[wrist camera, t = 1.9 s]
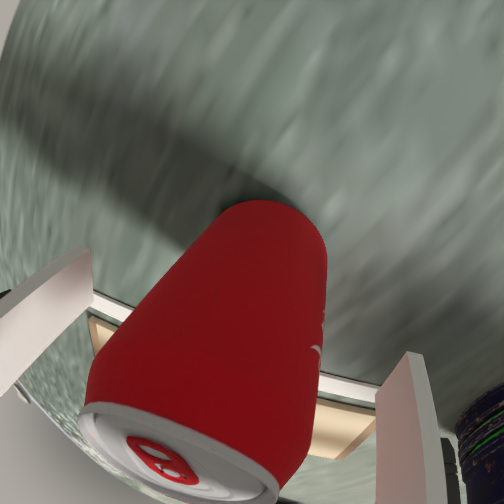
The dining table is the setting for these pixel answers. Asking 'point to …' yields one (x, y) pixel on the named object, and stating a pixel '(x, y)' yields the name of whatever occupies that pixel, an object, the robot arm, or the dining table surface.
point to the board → (326, 415)
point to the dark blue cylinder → (483, 448)
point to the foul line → (325, 380)
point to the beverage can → (218, 364)
